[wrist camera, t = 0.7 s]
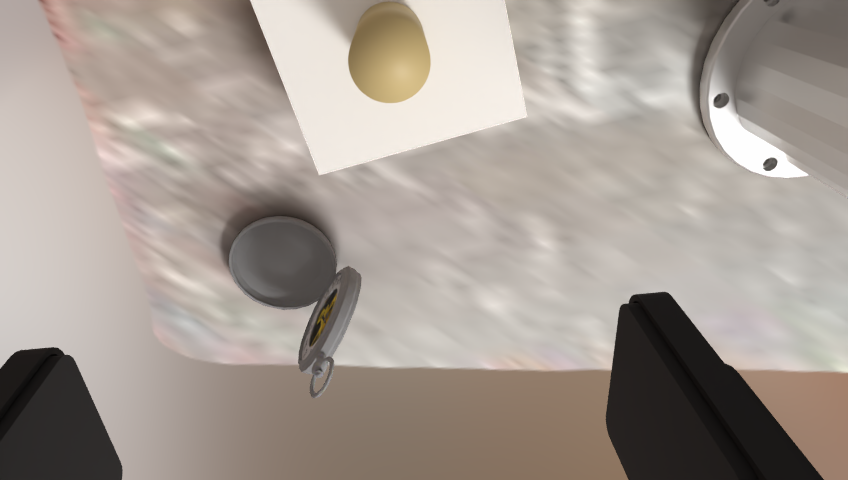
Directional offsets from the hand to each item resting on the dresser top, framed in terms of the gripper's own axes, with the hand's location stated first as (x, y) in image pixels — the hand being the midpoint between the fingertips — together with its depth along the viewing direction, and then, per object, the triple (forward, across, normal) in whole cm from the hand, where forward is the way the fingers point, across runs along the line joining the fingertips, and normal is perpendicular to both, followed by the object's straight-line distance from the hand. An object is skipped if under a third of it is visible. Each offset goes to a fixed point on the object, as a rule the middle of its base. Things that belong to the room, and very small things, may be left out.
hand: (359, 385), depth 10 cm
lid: (+20, -1, -2) cm, 20 cm away
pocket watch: (+25, +6, +12) cm, 29 cm away
